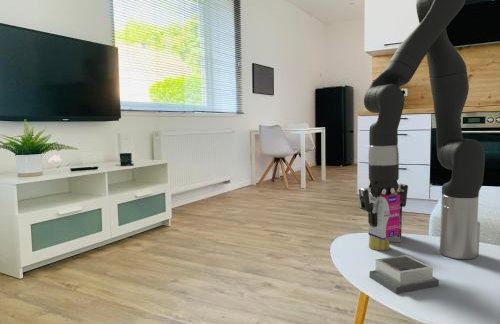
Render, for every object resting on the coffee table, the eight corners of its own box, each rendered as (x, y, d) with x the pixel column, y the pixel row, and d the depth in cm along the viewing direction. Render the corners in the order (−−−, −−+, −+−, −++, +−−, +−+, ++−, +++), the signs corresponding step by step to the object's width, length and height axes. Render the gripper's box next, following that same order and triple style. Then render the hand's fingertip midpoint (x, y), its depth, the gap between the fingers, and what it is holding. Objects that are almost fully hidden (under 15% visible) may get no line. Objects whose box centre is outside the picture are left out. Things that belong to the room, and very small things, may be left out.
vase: (367, 243, 122) (367, 199, 121) (387, 244, 122) (388, 199, 120) (370, 250, 116) (371, 203, 115) (391, 251, 116) (392, 203, 114)
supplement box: (383, 240, 100) (383, 197, 99) (367, 234, 106) (367, 193, 104) (400, 236, 103) (400, 194, 101) (384, 231, 108) (384, 190, 107)
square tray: (409, 270, 101) (409, 253, 100) (438, 285, 91) (439, 267, 91) (369, 277, 97) (369, 259, 97) (395, 293, 88) (396, 274, 87)
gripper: (396, 159, 108) (396, 218, 110) (351, 163, 103) (352, 224, 105) (416, 161, 101) (415, 224, 103) (368, 165, 96) (369, 231, 98)
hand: (383, 224), depth 104 cm, fingers closed on supplement box, 6 cm apart
